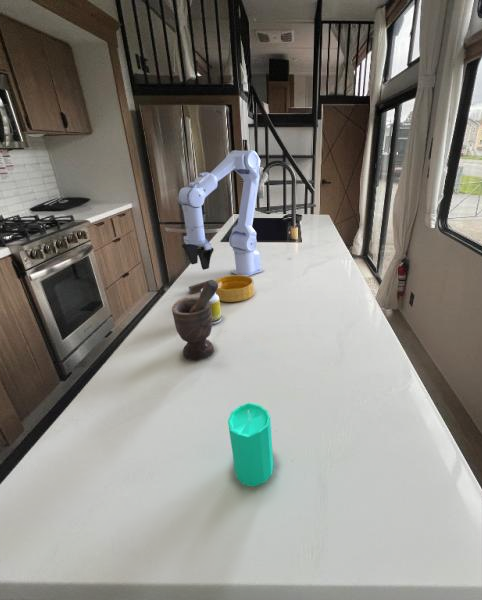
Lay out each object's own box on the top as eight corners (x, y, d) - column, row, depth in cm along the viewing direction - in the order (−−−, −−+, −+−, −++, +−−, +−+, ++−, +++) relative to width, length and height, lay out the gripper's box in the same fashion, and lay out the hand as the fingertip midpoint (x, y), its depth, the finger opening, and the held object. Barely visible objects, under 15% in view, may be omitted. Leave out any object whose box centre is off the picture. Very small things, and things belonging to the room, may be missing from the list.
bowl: (239, 283, 118) (238, 272, 116) (262, 294, 109) (261, 281, 107) (207, 294, 110) (205, 282, 108) (229, 307, 101) (228, 294, 99)
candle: (236, 453, 53) (228, 397, 48) (272, 450, 53) (269, 394, 48) (233, 488, 48) (224, 429, 42) (274, 484, 48) (270, 425, 43)
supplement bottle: (224, 316, 96) (220, 285, 92) (218, 325, 91) (214, 293, 87) (206, 315, 96) (201, 285, 92) (200, 324, 91) (195, 293, 87)
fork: (227, 279, 122) (227, 274, 121) (230, 281, 120) (230, 275, 119) (189, 292, 112) (188, 286, 111) (192, 294, 111) (191, 288, 110)
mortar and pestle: (232, 343, 83) (223, 269, 74) (225, 363, 75) (215, 284, 66) (187, 343, 83) (174, 270, 74) (176, 363, 75) (159, 284, 67)
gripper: (172, 225, 107) (179, 264, 113) (194, 231, 98) (200, 274, 103) (192, 221, 111) (197, 259, 117) (214, 228, 102) (219, 269, 108)
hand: (199, 266), depth 111 cm, fingers open, 7 cm apart
